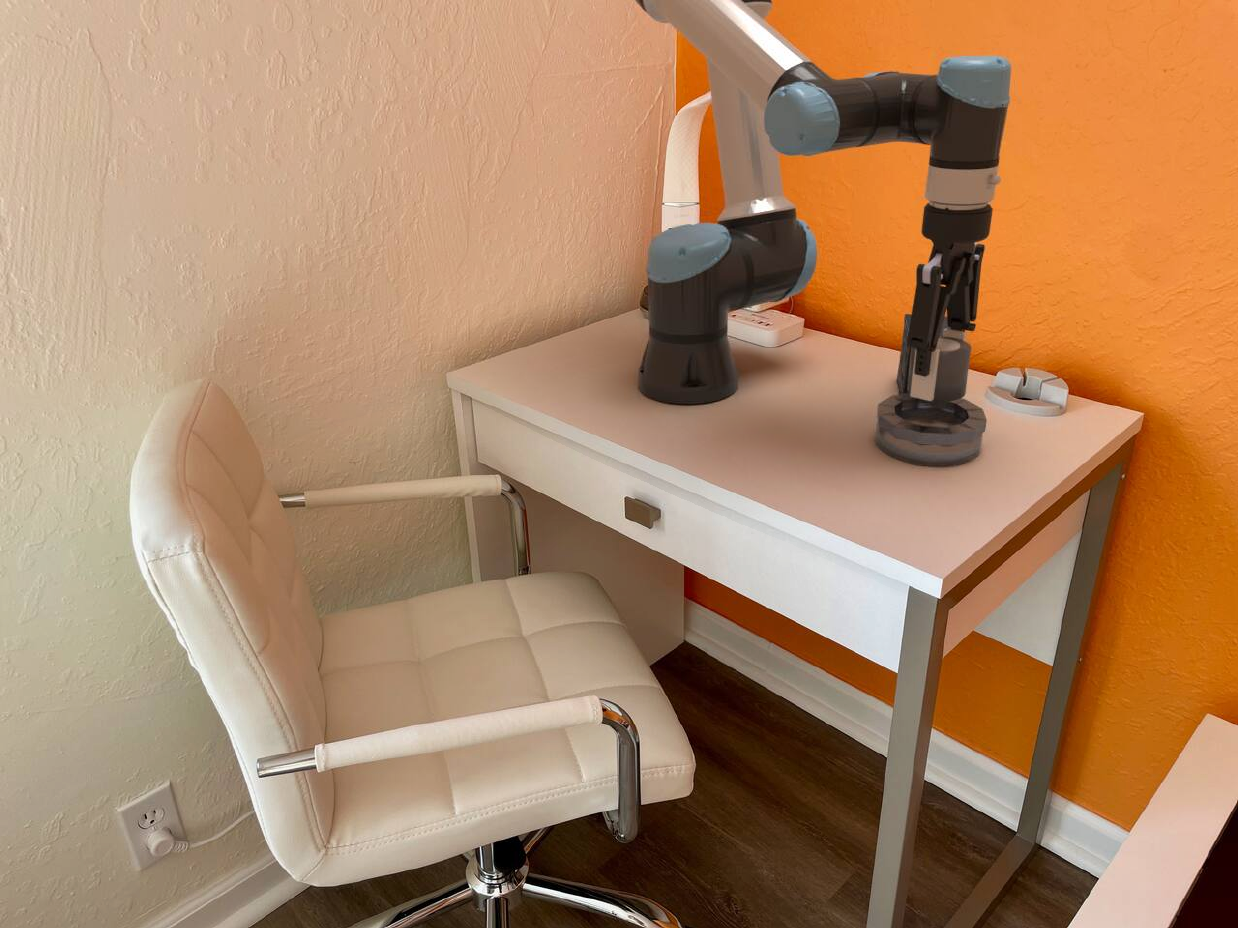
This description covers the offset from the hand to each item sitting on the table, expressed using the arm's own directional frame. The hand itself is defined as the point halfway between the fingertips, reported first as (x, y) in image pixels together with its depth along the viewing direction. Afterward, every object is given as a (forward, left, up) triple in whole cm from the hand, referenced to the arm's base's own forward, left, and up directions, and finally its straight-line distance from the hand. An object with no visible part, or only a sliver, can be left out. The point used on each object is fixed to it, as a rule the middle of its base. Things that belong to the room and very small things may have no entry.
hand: (935, 388), depth 116 cm
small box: (-8, +15, -8) cm, 19 cm away
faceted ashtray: (0, 0, -8) cm, 8 cm away
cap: (0, 0, 0) cm, 0 cm away
